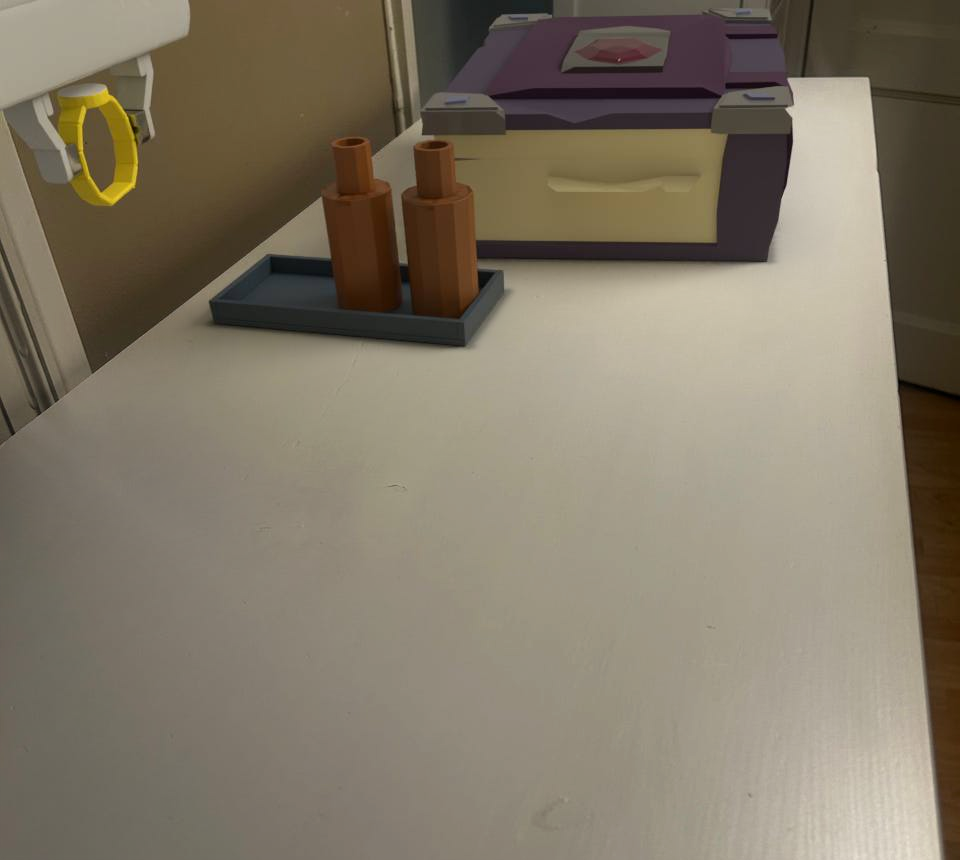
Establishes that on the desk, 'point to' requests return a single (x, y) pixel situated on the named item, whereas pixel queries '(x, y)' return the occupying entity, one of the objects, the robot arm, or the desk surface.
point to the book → (622, 136)
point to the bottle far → (439, 234)
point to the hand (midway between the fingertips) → (102, 160)
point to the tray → (314, 308)
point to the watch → (126, 168)
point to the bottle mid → (361, 231)
